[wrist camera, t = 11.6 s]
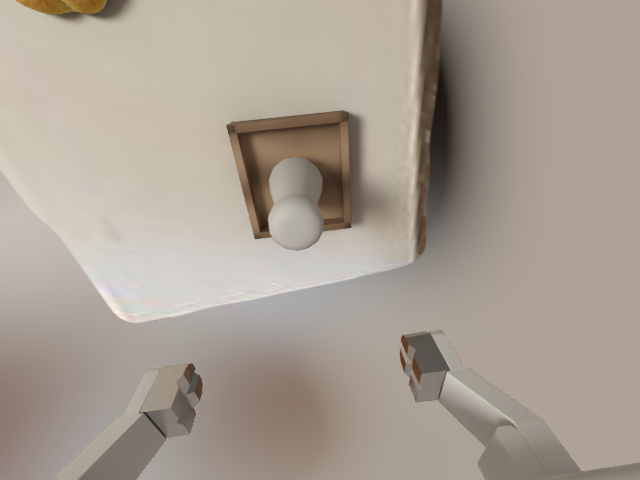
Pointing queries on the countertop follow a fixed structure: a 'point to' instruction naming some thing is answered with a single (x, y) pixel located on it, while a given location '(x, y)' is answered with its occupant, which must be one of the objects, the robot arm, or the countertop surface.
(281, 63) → the countertop surface
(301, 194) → the salt shaker
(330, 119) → the tray
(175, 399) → the robot arm
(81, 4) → the bread roll
